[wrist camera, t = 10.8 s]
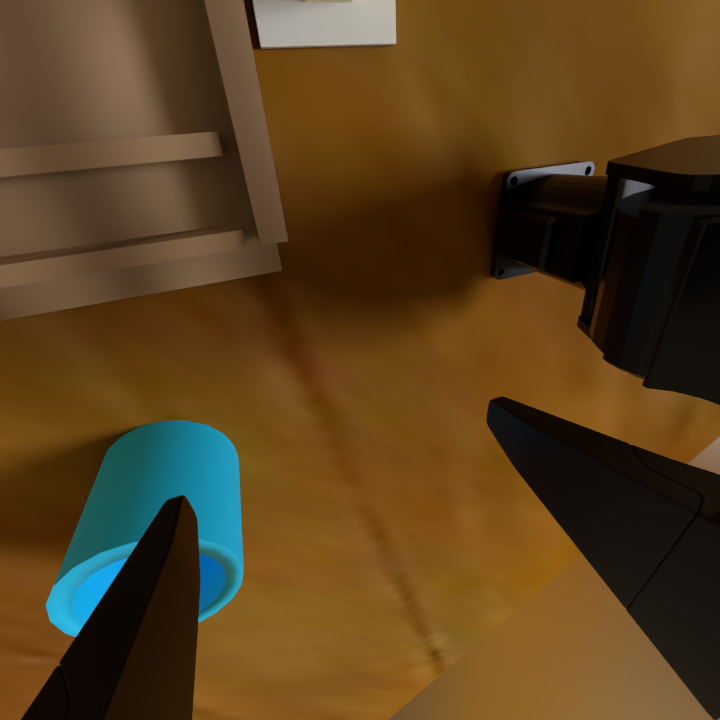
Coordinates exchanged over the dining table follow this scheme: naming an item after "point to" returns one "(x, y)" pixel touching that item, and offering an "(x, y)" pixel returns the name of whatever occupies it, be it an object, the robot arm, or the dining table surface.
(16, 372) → the dining table surface
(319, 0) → the block
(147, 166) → the rack
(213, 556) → the mug
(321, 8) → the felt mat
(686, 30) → the dining table surface
